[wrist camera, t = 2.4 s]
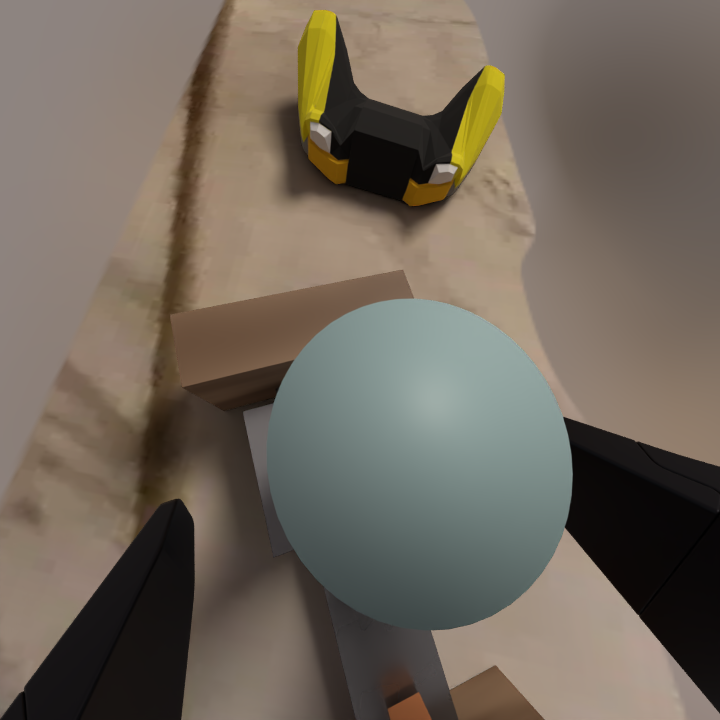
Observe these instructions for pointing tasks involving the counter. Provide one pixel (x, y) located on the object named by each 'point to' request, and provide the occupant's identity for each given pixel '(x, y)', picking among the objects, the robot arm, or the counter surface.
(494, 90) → the gaming controller
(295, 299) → the end cabinet
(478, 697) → the end cabinet
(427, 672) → the track
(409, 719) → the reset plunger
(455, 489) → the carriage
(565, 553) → the counter surface
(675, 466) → the robot arm
